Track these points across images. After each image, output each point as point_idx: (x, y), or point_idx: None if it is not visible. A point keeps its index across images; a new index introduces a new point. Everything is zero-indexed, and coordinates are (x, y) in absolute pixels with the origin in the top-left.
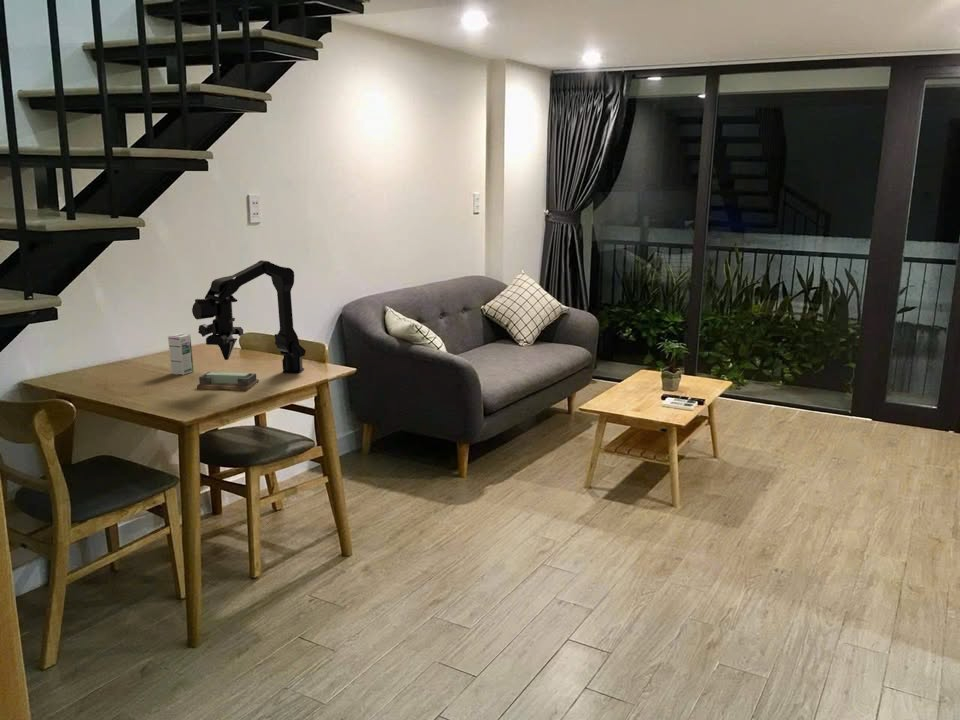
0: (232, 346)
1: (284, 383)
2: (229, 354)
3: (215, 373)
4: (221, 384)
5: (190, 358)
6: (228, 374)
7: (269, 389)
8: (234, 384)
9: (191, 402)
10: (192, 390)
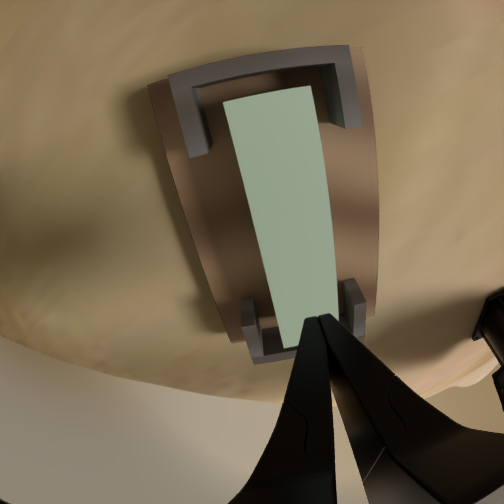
0: (362, 473)
1: None
2: (332, 390)
3: (281, 152)
4: (225, 213)
5: None
6: (284, 258)
7: (276, 375)
8: (253, 276)
9: (5, 235)
10: (115, 89)
